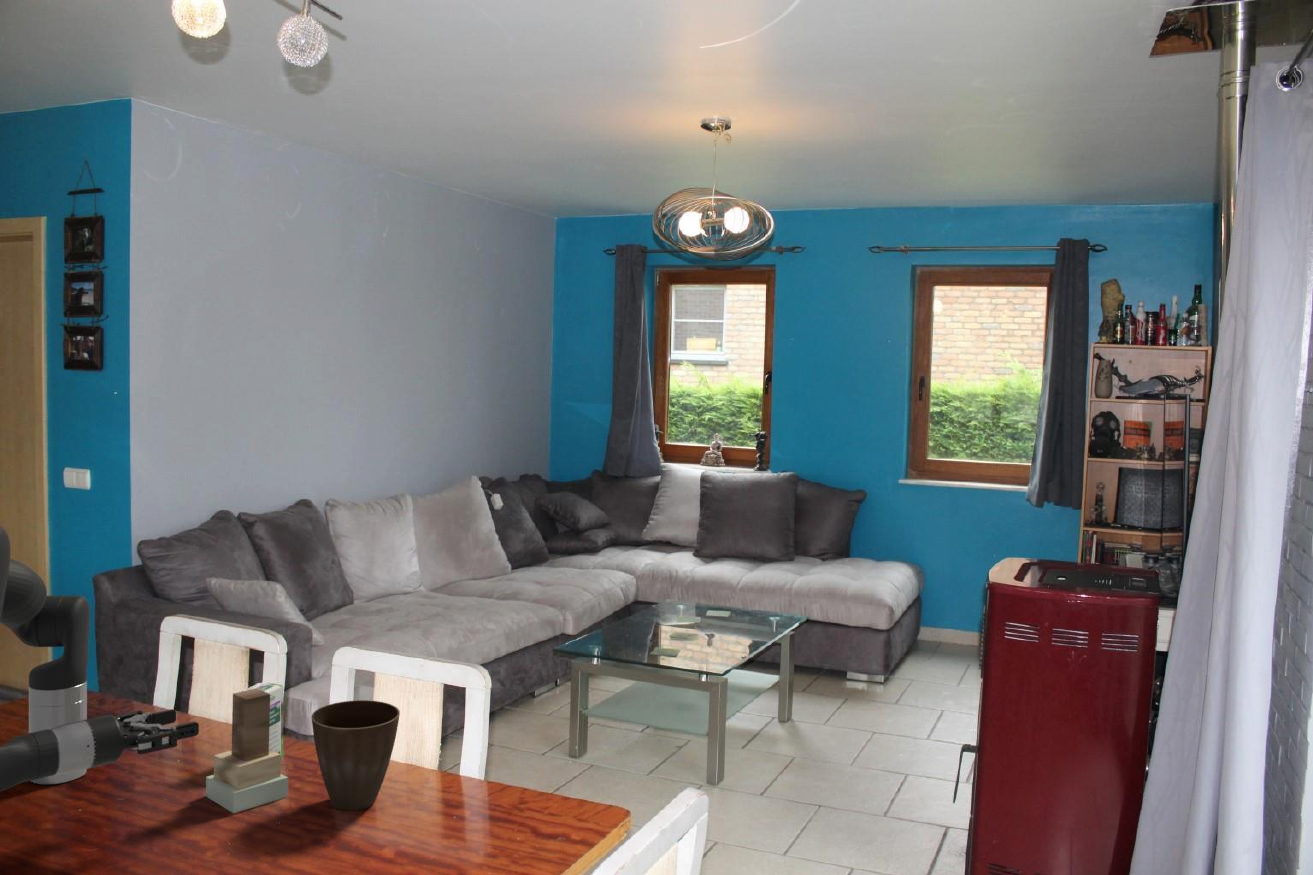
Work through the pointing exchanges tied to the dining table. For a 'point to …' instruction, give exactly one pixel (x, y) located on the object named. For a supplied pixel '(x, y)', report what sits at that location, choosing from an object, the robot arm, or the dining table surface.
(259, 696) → the walnut block
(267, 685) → the syrup box
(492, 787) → the dining table surface
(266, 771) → the tower top
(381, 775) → the plant pot
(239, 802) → the tower base
